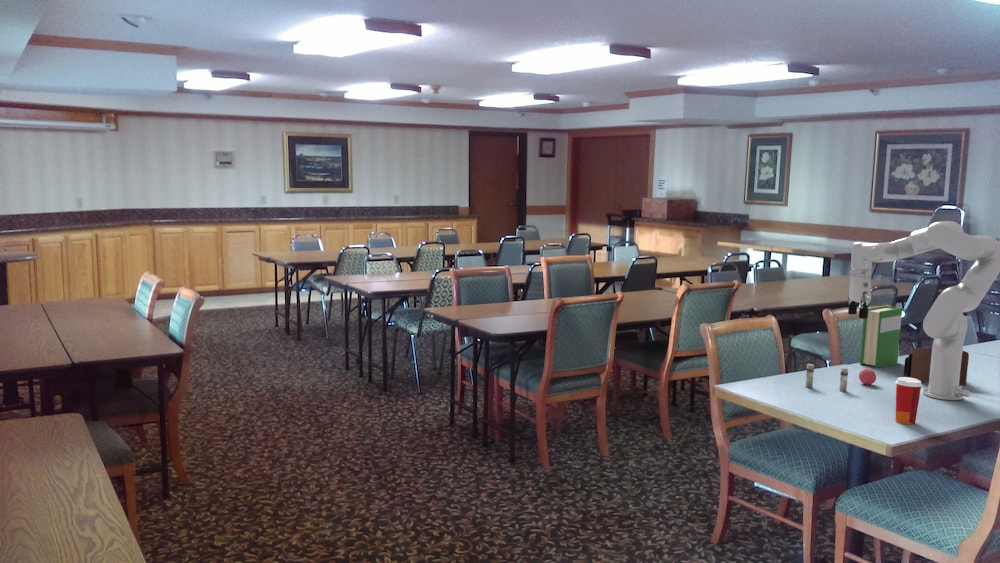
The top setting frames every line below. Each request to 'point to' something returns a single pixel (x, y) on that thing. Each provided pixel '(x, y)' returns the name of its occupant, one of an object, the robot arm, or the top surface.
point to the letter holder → (920, 365)
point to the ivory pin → (843, 379)
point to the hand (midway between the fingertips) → (857, 316)
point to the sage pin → (809, 375)
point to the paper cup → (907, 399)
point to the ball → (867, 376)
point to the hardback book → (881, 336)
